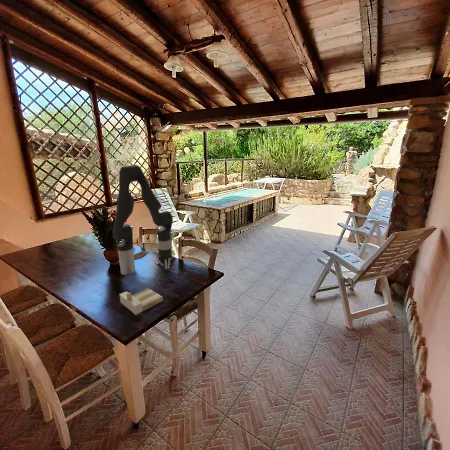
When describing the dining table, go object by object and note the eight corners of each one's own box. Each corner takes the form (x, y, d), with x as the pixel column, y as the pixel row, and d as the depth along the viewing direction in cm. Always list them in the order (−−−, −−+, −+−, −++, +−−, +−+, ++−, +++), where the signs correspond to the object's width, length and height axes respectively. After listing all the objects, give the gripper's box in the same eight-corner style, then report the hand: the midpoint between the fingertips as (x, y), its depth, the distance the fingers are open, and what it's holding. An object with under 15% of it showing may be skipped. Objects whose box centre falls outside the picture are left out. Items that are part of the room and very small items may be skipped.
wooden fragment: (144, 250, 206) (144, 249, 206) (152, 254, 199) (152, 253, 199) (114, 261, 187) (114, 260, 187) (122, 265, 180) (122, 264, 180)
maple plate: (129, 301, 138) (129, 296, 137) (148, 292, 146) (148, 287, 145) (143, 311, 129) (142, 306, 128) (163, 301, 137) (162, 296, 137)
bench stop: (120, 302, 136) (118, 289, 134) (127, 299, 139) (126, 286, 137) (135, 314, 126) (133, 300, 123) (142, 311, 129) (141, 297, 126)
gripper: (170, 241, 148) (171, 268, 153) (150, 248, 138) (153, 276, 144) (178, 245, 143) (179, 272, 148) (158, 252, 134) (160, 280, 139)
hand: (166, 274), depth 146 cm, fingers closed
